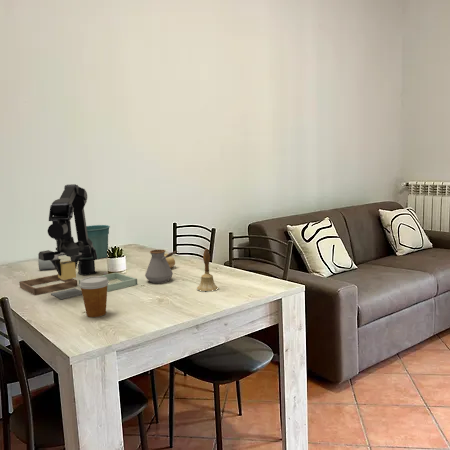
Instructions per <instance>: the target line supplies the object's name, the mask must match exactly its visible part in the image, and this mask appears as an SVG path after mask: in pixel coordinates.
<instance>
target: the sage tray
mask: <svg viewBox="0 0 450 450" xmlns="http://www.w3.org/2000/svg"><path fill="white" fill-rule="evenodd" d="M101 276H103V277H106V278H107V280H108V281H112V280H119V281H118V282H115V283H108V285H107V293H108V292H112V291H115V290H120V289H124V288H128V287H129V286H130V287H133V285H134V286H137V285H138V278H136V277H133V276H129V275H126V274H122V273H120V272H112V273H108V274H103V275H101ZM80 281H81V279H78V285H79V284H80Z"/></svg>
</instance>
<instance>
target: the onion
mask: <svg viewBox="0 0 450 450" xmlns="http://www.w3.org/2000/svg"><path fill="white" fill-rule="evenodd" d="M168 254H169V253H164V256H166V255H168ZM166 260H167V262H168V264H169V266H170V268H171V269H173V268H174V266H175V264H176V260H175V258H174V257H173V255H172V256H170V257H167V258H166Z"/></svg>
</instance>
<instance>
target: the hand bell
mask: <svg viewBox="0 0 450 450" xmlns="http://www.w3.org/2000/svg"><path fill="white" fill-rule="evenodd" d="M202 258H203V263H204V274H202V275H201V277H200V282H199V285H198V286H197V287H196V290H197V289H198V290H201V291H212V290H216V289H217V288H218V289H219V287H218V286H217V285H216V283H215V281H214V276H213V275H212V273H210V261H211V255H210V251H209V249H208V248H205V249H204V251H203V257H202ZM218 289H217V290H218ZM198 290H197V291H198ZM217 290H216V291H217ZM201 291H200V292H201ZM212 292H213V291H212Z"/></svg>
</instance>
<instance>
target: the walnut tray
mask: <svg viewBox="0 0 450 450" xmlns="http://www.w3.org/2000/svg"><path fill="white" fill-rule="evenodd" d="M57 281H60V282H59V283H54V284H50V285H49V284H48V283H53V282H57ZM61 281H62V282H61ZM41 284H48V285H45V286H41V287H34V286H37V285H41ZM78 286H79V282H78V280H77V279H76V278H72V279H67V280H62V279H60V278H58V273H57V274H53V275H47V276H43V277H37V278H31V279H26V280H22V281H19V289H22V290H24V291H26V292H27V293H30V294H31V295H34V296H37V295H43V294H47V293H54V292H58V291H63V290H65V289H66V290H68V289H73V288H77V287H78Z"/></svg>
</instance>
